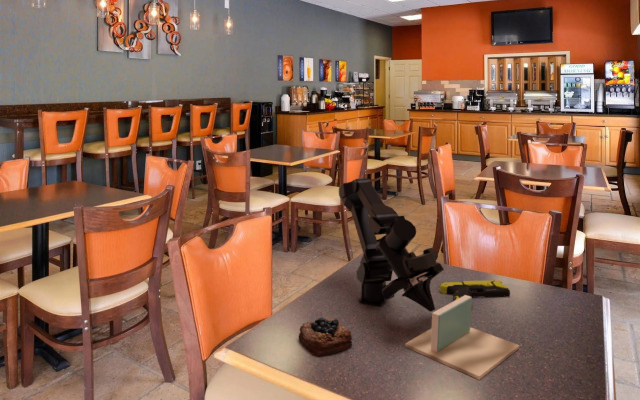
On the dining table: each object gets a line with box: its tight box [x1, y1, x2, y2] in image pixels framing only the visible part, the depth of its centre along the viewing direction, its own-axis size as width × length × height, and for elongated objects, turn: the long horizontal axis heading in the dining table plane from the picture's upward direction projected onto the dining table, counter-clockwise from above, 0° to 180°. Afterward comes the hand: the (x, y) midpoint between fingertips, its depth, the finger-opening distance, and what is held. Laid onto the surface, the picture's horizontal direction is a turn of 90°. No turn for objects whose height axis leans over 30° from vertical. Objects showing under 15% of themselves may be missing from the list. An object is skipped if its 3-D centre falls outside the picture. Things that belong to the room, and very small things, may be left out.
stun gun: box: [438, 279, 511, 310], centre depth 143 cm, size 3×19×15 cm
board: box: [404, 326, 520, 381], centre depth 116 cm, size 19×18×1 cm
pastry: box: [298, 316, 353, 357], centre depth 119 cm, size 11×12×6 cm
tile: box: [431, 295, 473, 352], centre depth 117 cm, size 2×14×9 cm, turn 134°
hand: (433, 310), depth 121 cm, fingers closed
